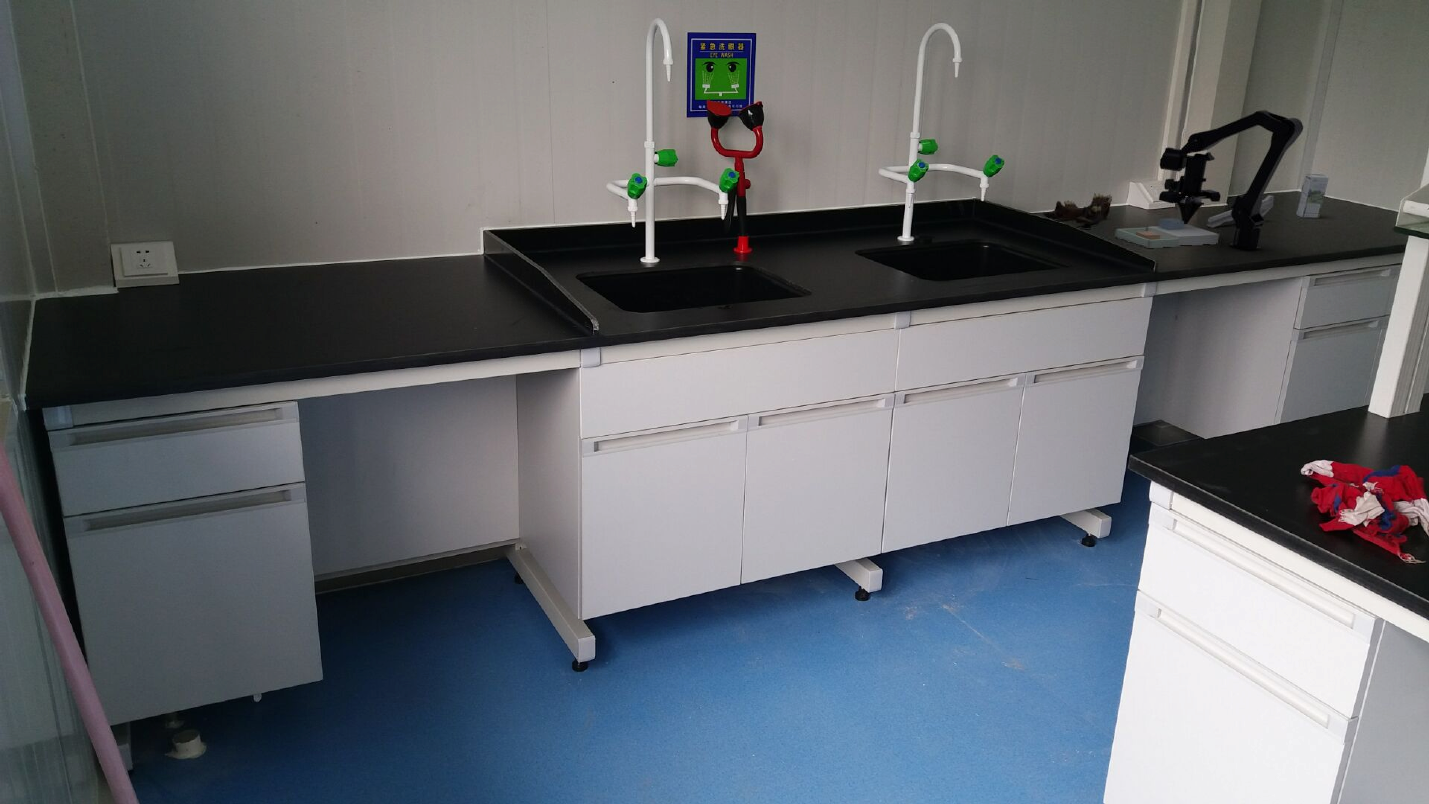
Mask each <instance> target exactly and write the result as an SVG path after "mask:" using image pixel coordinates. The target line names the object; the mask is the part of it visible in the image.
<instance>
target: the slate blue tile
mask: <svg viewBox="0 0 1429 804" xmlns="http://www.w3.org/2000/svg"><path fill="white" fill-rule="evenodd" d="M1183 225H1185V224H1184V221H1182V219H1177V218H1174V217H1168V218H1166V217H1165V218H1159V222H1158V226H1159V227H1161V228H1165V229H1168V230H1180V229H1183Z"/></svg>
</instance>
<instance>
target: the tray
mask: <svg viewBox="0 0 1429 804" xmlns="http://www.w3.org/2000/svg"><path fill="white" fill-rule="evenodd" d="M1147 230H1148V227H1134V228H1133V227H1130V228H1116V229H1115V232H1114V238H1116V237H1117V239H1120V240H1122V239H1124V240H1123V241H1125V240H1126V241H1125V242H1127V241H1128V243H1130V242H1133V243H1136V244H1139V245H1144V246H1146V247H1147V248H1154V249H1164V248H1163V247H1172V248H1179V246H1178V244H1179V239H1178V238H1176V239H1157V240H1149V239H1146V238H1143V237H1140V236H1137V235H1136V232H1143V231H1147ZM1133 243H1132V244H1133ZM1136 244H1135V245H1136ZM1139 245H1138V246H1139ZM1147 248H1146V249H1147Z"/></svg>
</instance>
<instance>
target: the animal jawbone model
mask: <svg viewBox="0 0 1429 804" xmlns="http://www.w3.org/2000/svg"><path fill="white" fill-rule="evenodd" d="M1112 201H1113V195H1111V194H1106V195H1105V196H1104V194H1100V193H1098V195H1097V194H1096V193H1094V195H1093V197H1092V201H1091V203H1090V204H1089V205H1088V206H1083V207H1079V206H1077V204H1076V203H1075V201H1072V200H1071V201H1070V200H1068V199H1067V201H1066V200H1064V201H1063V203H1064V204H1063V203H1061V201H1060V200H1058V201H1056V202H1055V203H1056V204H1055V208H1054V210H1053V211H1045V212H1043V213H1042V215H1043V216H1044V217H1045V216H1046V217H1048V218H1052V219H1057V220H1065V221H1075V223H1076V224H1078V225H1079V224H1081V225H1082V224H1084V225H1083V226H1084V227H1086V228H1090V229H1092V228H1091V227H1092V225H1093V224H1097V222H1100V221H1101V222H1102V221H1105V220H1106V219H1107V218H1108V216H1109V213H1110V209H1111V205H1112V204H1111V203H1112ZM1057 220H1056V221H1057Z"/></svg>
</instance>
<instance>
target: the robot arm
mask: <svg viewBox="0 0 1429 804" xmlns="http://www.w3.org/2000/svg"><path fill="white" fill-rule="evenodd" d="M1256 127H1261V128H1263V129H1265V130H1266V131H1269V132H1271V133H1272V134H1271V138H1270V145H1269V148H1268V150H1267V152H1266V155H1265V156H1264V158H1263V160H1262V161H1261V162H1262V163H1261V164H1260V166H1259V168H1258V170H1257V172H1256V174H1255V176H1254V178H1253V180H1252V181H1251V183H1250V185H1249V187H1248V189H1247V191H1246V192H1245V193H1242V194H1241V193H1240V194H1238V195H1236V196H1235V200H1234V203H1233V204H1232V206H1230V209H1231V210H1232V211H1231V215H1232V218H1233V219H1234V220H1233V221H1234V224H1235V228H1236V230H1235V231H1234V232H1235V233H1234V236H1233V241H1232V243H1229V244H1228V245H1230V246H1229V247H1232V246H1233V247H1232V248H1235V247H1236V249H1239V248H1241V249H1240V250H1242V249H1244V250H1243V251H1251V250H1250V249H1257V250H1262V247H1260V246H1258V245H1259V240H1260V235H1261V231H1262V230H1261V229H1260V228H1262V227H1263V226H1264V225H1265V223H1266V220H1265V218H1264V216H1263V217H1262V215H1261V214H1260V212H1261V211H1260V208H1261V205H1262V200H1263V196H1264V193H1265V192H1266V189H1267V187H1268V186H1269V184H1270V182H1271V180H1272V178H1273V176H1274V175H1275V172H1276V171H1277V169H1278V167H1279V165H1280V163H1281V161H1282V159H1283V157H1284V155H1285V153H1286V152H1287V150H1288V149H1289V148H1290V147H1291V146H1292V145H1293V144H1294V143H1295V142H1296V141H1297V139H1298V138H1299V137H1300V135H1301V134H1302V132H1303V130H1304V125H1303V122H1302V120H1300V119H1299V118H1296V117H1290V118H1289V117H1287V116H1286V117H1285V116H1283V115H1280V114H1276V113H1273V112H1270V111H1268V110H1267V109H1261V110H1257V111H1255V112H1253V113H1252V114H1249V115H1247V116H1244V117H1242V118H1239V119H1237V120H1233V121H1232V122H1229V123H1227V124H1225V125H1222V126H1220V127H1217V128H1213V129H1209V130H1204V131H1200V132H1195V133H1192V134H1191V135H1189V137H1188V139H1187V143H1185V144H1184V145H1183V146H1182V148H1181V149H1179V148H1174V147H1169V146H1168V147H1165V149H1164V151H1163V153H1162V156H1161V157H1160V159H1159V168H1160V169H1161V170H1165V171H1172V172H1177V173H1178V172H1179V173H1180V172H1182V170H1184V173H1183V175H1181V176H1180V177H1179V180H1174V178H1166V179H1165V181H1164V185H1163V186H1164V191H1161V192H1160V193H1159V196H1158V200H1159V201H1161V202H1165V203H1167V204H1177V205H1178V208H1179V210H1180V215H1181V221H1184V225H1188V223H1189V222H1190V221H1191V220H1192V218H1193V217H1194V215H1195V214H1196V212H1198V210H1199V209H1200V208H1201V207H1202V206H1203V205H1205V202H1203V201H1202V200H1206V199H1207V200H1208V199H1209V200H1210V202H1211V203H1213V202H1214V203H1216V202H1217V203H1218V202H1220V201H1221V197H1222V196H1221V194H1220V192H1219V191H1216V190H1213V189H1212V190H1211V189H1202V187H1203V183H1205V182H1207V177H1205V172H1206V168H1207V167H1206V166H1207V162H1212V161H1215V157H1214V156H1213V155H1212V153H1211V152H1210V151H1208V150H1209V149H1211V148H1213V147H1214V146H1217V145H1218V144H1219V143H1221V142H1222V141H1224V140H1226V139H1228V138H1231V137H1233V136H1235V135H1238V134H1240V133H1243V132H1245V131H1248V130H1251V129H1253V128H1256ZM1206 151H1208V152H1206ZM1200 152H1206V153H1200ZM1192 153H1195V154H1193V155H1190V154H1192ZM1246 249H1247V250H1246ZM1248 249H1249V250H1248Z"/></svg>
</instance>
